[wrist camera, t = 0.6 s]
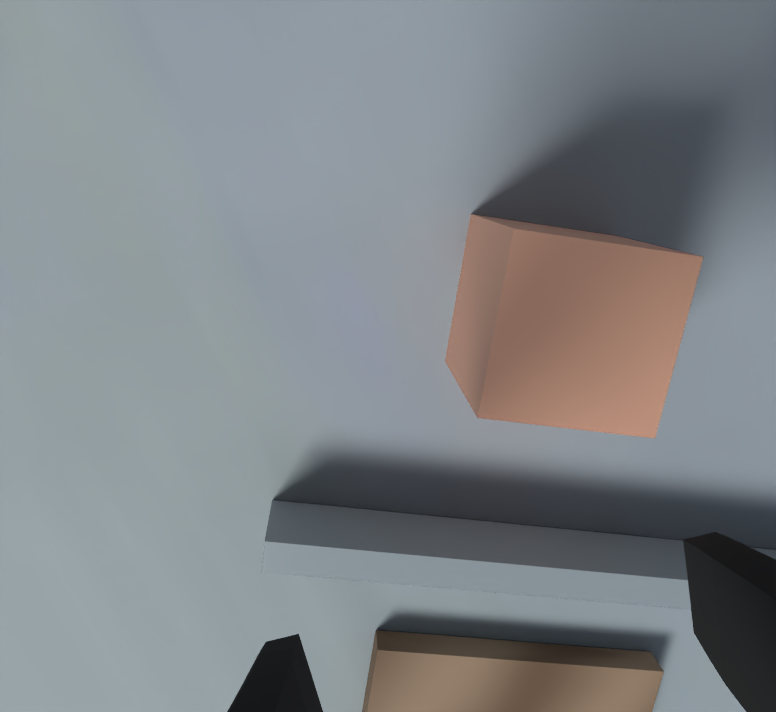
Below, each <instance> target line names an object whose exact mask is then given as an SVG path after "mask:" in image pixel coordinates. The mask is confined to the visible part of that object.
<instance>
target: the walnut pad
mask: <svg viewBox="0 0 776 712" xmlns="http://www.w3.org/2000/svg"><path fill="white" fill-rule="evenodd" d="M663 673H664V671H663V670H662V668H661V667H660V665H659V663H658V662H657V660H656V659H655V657H654V656H653V654H652V653H651V652H646V651H634V650H621V649H608V648H596V647H583V646H570V645H558V644H545V643H532V642H520V641H507V640H494V639H482V638H469V637H456V636H444V635H431V634H418V633H406V632H393V631H380V630H376V633H375V639H374V645H373V651H372V657H371V663H370V669H369V674H368V680H367V686H366V692H365V698H364V704H363V710H362V712H652V710H653V706H654V703H655V700H656V696H657V693H658V690H659V686H660V683H661V680H662V676H663Z"/></svg>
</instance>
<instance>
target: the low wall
mask: <svg viewBox="0 0 776 712" xmlns="http://www.w3.org/2000/svg"><path fill="white" fill-rule="evenodd" d="M750 548H752V547H750ZM752 549H755V550H757V551H759V552H761V553H763V554H765V555H767V556H769V557H771V558H774V559H776V550H772V549H762V548H752ZM261 572H264V573H276V574H287V575H299V576H310V577H322V578H334V579H345V580H357V581H368V582H380V583H391V584H403V585H414V586H426V587H437V588H449V589H460V590H472V591H483V592H495V593H506V594H518V595H529V596H541V597H552V598H564V599H575V600H587V601H598V602H610V603H621V604H633V605H644V606H656V607H667V608H679V609H690V610H691V603H690V594H689V586H688V577H687V569H686V560H685V552H684V543H683V541H681V540H671V539H661V538H651V537H641V536H630V535H620V534H610V533H600V532H590V531H580V530H570V529H560V528H549V527H539V526H529V525H519V524H509V523H499V522H489V521H479V520H468V519H458V518H448V517H438V516H428V515H418V514H408V513H398V512H387V511H377V510H367V509H357V508H347V507H337V506H327V505H317V504H306V503H296V502H286V501H276V500H272V505H271V511H270V516H269V521H268V526H267V532H266V537H265V543H264V552H263V561H262V569H261Z"/></svg>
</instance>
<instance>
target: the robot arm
mask: <svg viewBox="0 0 776 712" xmlns="http://www.w3.org/2000/svg"><path fill="white" fill-rule="evenodd" d="M683 543H684V552H685V560H686V569H687V577H688V586H689V594H690V603H691V611H692V620H693V628H694V634H695V635H696V637H697V639H698V640H699V642H700V644H701V645H702V647H703V649H704V650H705V652H706V654H707V656H708V657H709V659H710V661H711V662H712V664H713V665H714V667H715V669H716V670H717V672H718V673H719V675H720V677H721V678H722V680H723V681H724V683H725V684H726V686H727V687H728V688H729V690H730V691H731V692H732V694H733V695H734V696H735V698H736V699H737V700H738V701H739V703H740V704H741V705H742V707H743V708H744V709H745V710H746V712H776V559H774V558H771V557H769V556H767V555H765V554H763V553H761V552H759V551H757V550H755V549H752V548H750V547H748V546H746V545H744V544H742V543H740V542H737V541H735V540H733V539H731V538H729V537H726V536H724V535H722V534H719V533H717V532H713V533H709V534H705V535H701V536H697V537H693V538H689V539H685V540H683ZM227 712H323V710H322V707H321V704H320V701H319V698H318V694H317V691H316V688H315V685H314V682H313V678H312V675H311V672H310V669H309V666H308V662H307V659H306V656H305V653H304V650H303V646H302V643H301V640H300V637H299V634H297V635H292V636H288V637H284V638H280V639H276V640H272V641H268V642H266V643H265V644H264V646H263V647H262V649H261V651H260V653H259V654H258V656H257V658H256V660H255V662H254V664H253V666H252V668H251V669H250V671H249V673H248V675H247V677H246V679H245V681H244V683H243V684H242V686H241V688H240V690H239V692H238V694H237V695H236V697H235V699H234V701H233V703H232V704H231V706H230V708H229V710H228V711H227Z"/></svg>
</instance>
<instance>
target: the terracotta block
mask: <svg viewBox="0 0 776 712" xmlns="http://www.w3.org/2000/svg"><path fill="white" fill-rule="evenodd" d="M702 260H703V257H702V256H698V255H694V254H690V253H686V252H681V251H677V250H673V249H669V248H665V247H661V246H657V245H652V244H648V243H644V242H640V241H636V240H632V239H628V238H624V237H619V236H614V235H607V234H601V233H594V232H587V231H581V230H574V229H567V228H561V227H554V226H547V225H541V224H534V223H527V222H521V221H514V220H507V219H501V218H494V217H487V216H481V215H474V214H471V217H470V223H469V228H468V234H467V240H466V245H465V251H464V257H463V262H462V268H461V274H460V279H459V285H458V291H457V296H456V302H455V308H454V313H453V319H452V325H451V330H450V336H449V342H448V347H447V353H446V359H445V362H446V364H447V365H448V367H449V369H450V371H451V372H452V374H453V376H454V378H455V379H456V381H457V383H458V385H459V386H460V388H461V390H462V392H463V393H464V395H465V397H466V399H467V400H468V402H469V404H470V406H471V407H472V409H473V411H474V413H475V414H476V416H477V418H483V419H492V420H501V421H509V422H518V423H527V424H535V425H544V426H553V427H561V428H570V429H579V430H587V431H596V432H605V433H613V434H622V435H631V436H639V437H648V438H655V436H656V433H657V429H658V425H659V421H660V418H661V414H662V410H663V406H664V403H665V399H666V395H667V391H668V388H669V384H670V380H671V376H672V373H673V369H674V365H675V361H676V358H677V354H678V350H679V346H680V343H681V339H682V335H683V331H684V328H685V324H686V320H687V316H688V313H689V309H690V305H691V301H692V298H693V294H694V290H695V286H696V283H697V279H698V275H699V272H700V268H701V264H702Z"/></svg>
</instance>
